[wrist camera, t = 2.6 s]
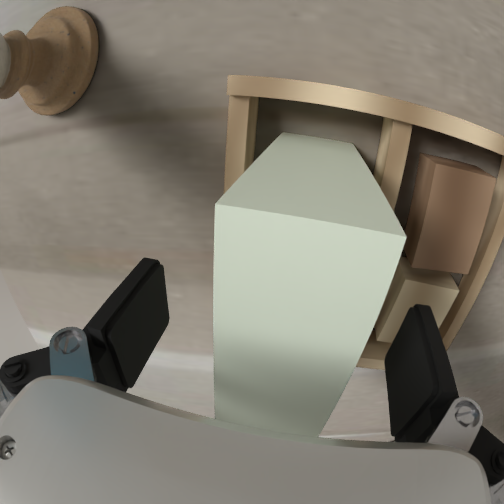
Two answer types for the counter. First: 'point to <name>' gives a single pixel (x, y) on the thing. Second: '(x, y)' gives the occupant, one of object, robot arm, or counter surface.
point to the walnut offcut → (447, 214)
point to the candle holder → (50, 60)
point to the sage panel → (297, 282)
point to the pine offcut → (414, 297)
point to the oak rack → (385, 173)
